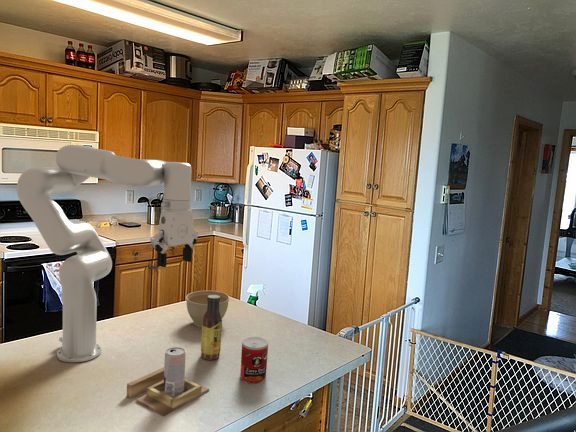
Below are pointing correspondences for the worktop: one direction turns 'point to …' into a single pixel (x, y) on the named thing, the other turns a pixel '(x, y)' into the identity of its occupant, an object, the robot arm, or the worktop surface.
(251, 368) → the canned food
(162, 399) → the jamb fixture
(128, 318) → the worktop surface
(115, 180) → the robot arm
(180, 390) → the energy drink
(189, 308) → the planter bowl
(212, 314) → the sauce bottle
